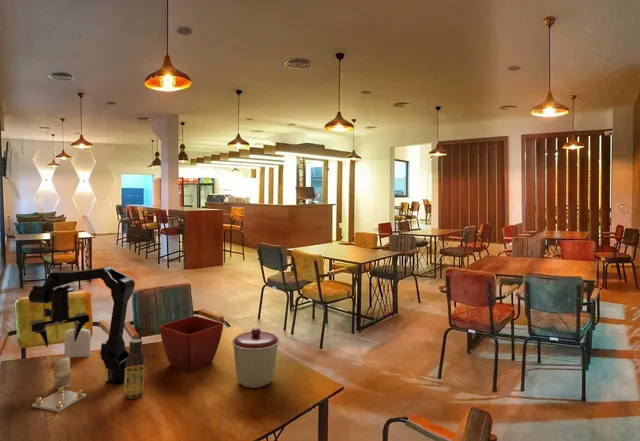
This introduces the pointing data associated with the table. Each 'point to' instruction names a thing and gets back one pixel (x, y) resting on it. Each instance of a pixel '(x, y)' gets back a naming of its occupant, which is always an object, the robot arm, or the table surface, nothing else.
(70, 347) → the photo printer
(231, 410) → the table surface
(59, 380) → the maple peg
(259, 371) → the canister
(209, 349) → the plant pot
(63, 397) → the base plate
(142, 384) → the sauce bottle
